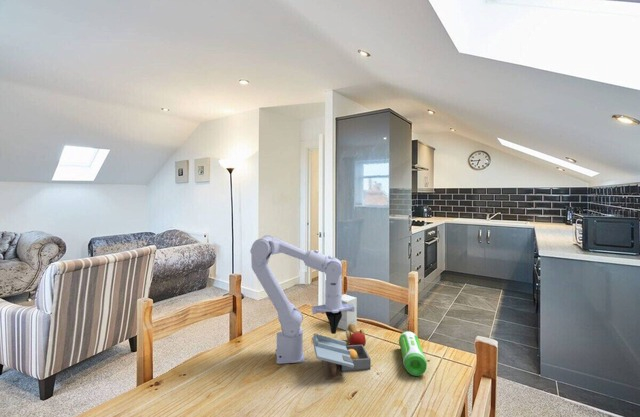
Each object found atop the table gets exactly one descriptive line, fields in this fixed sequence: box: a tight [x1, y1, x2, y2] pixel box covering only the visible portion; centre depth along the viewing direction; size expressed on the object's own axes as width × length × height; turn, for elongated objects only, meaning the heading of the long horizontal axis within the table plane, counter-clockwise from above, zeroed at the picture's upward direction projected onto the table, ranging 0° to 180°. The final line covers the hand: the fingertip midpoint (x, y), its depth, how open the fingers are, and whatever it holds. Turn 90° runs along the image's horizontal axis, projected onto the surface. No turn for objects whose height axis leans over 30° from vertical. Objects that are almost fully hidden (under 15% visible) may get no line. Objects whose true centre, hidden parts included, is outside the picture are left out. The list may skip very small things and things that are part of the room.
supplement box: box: [337, 293, 358, 332], centre depth 130 cm, size 7×7×13 cm
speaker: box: [398, 330, 428, 377], centre depth 102 cm, size 18×7×8 cm, turn 171°
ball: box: [349, 349, 357, 359], centre depth 101 cm, size 4×4×4 cm
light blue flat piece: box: [311, 333, 354, 368], centre depth 97 cm, size 12×13×2 cm
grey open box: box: [339, 344, 372, 373], centre depth 102 cm, size 10×10×4 cm
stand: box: [321, 360, 344, 380], centre depth 98 cm, size 5×10×5 cm, turn 8°
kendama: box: [345, 324, 367, 347], centre depth 117 cm, size 8×6×18 cm
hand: (333, 332), depth 103 cm, fingers closed
